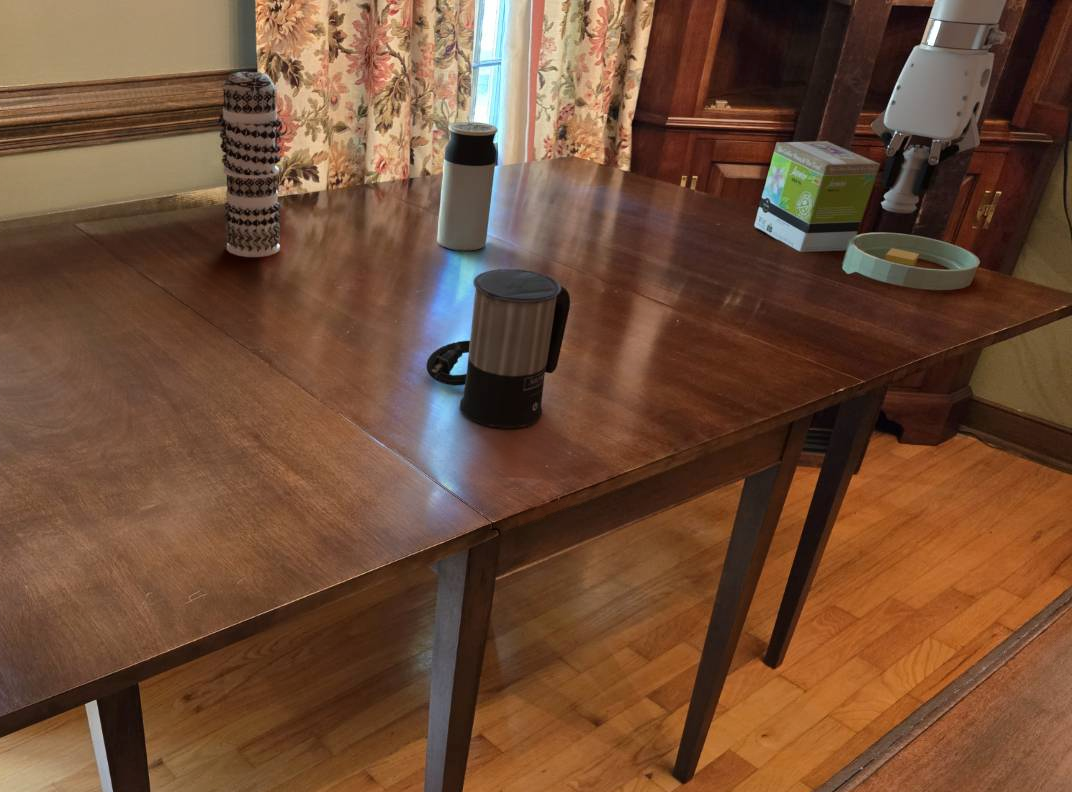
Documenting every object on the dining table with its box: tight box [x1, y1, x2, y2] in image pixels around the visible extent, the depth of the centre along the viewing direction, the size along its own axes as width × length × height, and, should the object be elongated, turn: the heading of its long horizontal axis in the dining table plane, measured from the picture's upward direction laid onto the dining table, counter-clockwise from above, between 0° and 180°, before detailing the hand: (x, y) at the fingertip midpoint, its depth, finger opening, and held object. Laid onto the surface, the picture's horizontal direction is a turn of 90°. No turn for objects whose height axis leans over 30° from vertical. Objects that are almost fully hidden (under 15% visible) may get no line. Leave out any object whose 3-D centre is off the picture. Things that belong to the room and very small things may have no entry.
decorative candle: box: [217, 71, 283, 258], centre depth 144 cm, size 9×9×25 cm
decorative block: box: [884, 248, 919, 267], centre depth 147 cm, size 4×4×4 cm
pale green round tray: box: [841, 232, 981, 291], centre depth 149 cm, size 18×18×4 cm
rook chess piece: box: [880, 144, 931, 214], centre depth 128 cm, size 4×4×8 cm
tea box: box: [754, 140, 881, 253], centre depth 161 cm, size 15×10×15 cm, turn 11°
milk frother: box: [426, 268, 571, 429], centre depth 107 cm, size 14×16×15 cm
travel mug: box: [436, 121, 498, 252], centre depth 152 cm, size 8×8×18 cm
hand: (904, 189), depth 129 cm, fingers closed on rook chess piece, 3 cm apart
